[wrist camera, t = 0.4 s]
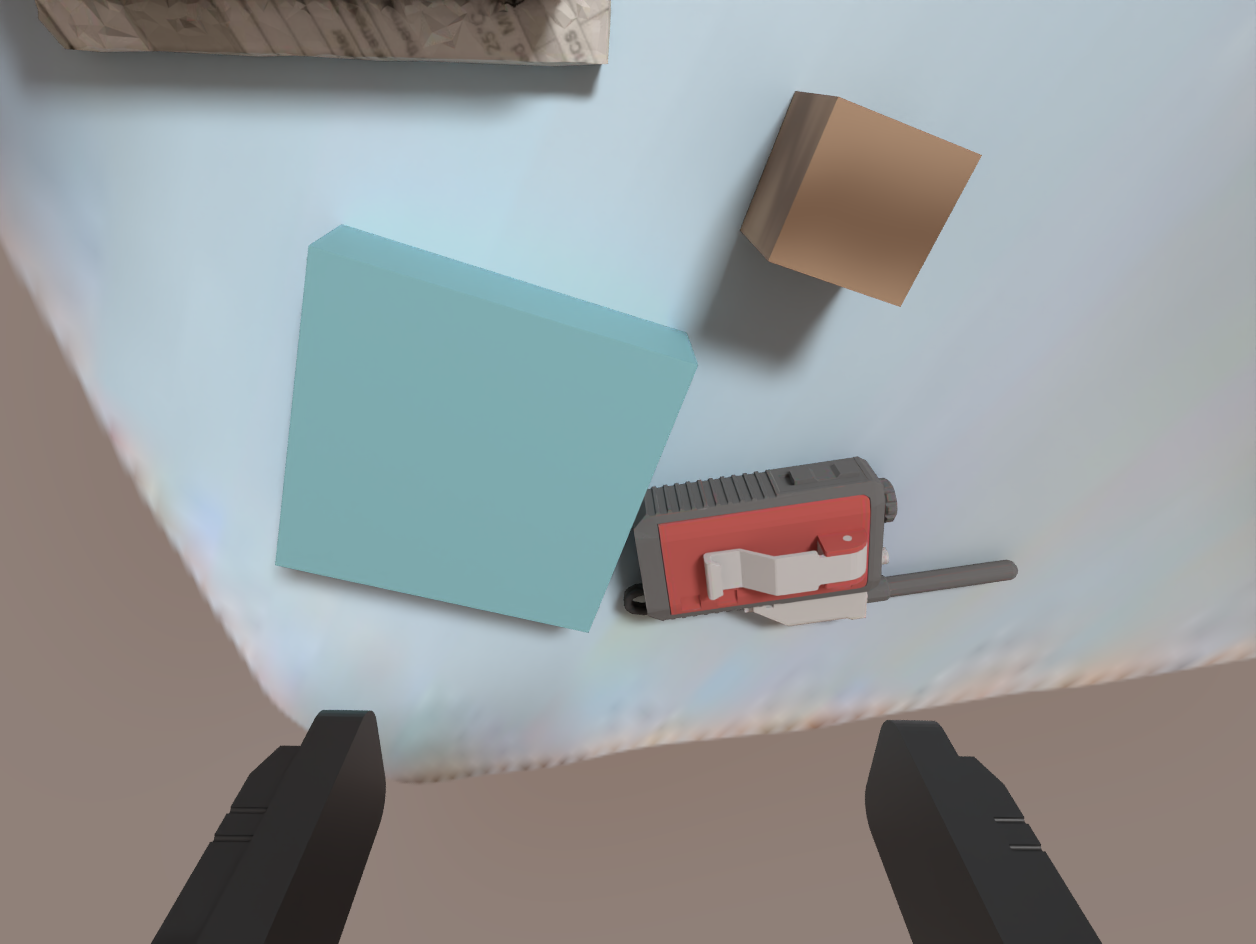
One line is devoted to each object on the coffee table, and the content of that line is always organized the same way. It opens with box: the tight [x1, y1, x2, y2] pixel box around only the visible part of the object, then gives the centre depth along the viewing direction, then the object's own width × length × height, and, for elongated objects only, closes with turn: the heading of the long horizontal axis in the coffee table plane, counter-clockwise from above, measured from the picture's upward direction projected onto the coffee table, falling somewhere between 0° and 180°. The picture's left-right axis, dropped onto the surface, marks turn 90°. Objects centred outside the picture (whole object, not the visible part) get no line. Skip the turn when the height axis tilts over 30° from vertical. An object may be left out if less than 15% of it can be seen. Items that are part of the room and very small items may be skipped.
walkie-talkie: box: [624, 457, 1018, 626], centre depth 33 cm, size 9×4×20 cm
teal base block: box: [275, 225, 698, 633], centre depth 29 cm, size 14×14×4 cm
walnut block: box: [740, 91, 982, 307], centre depth 24 cm, size 5×5×5 cm
